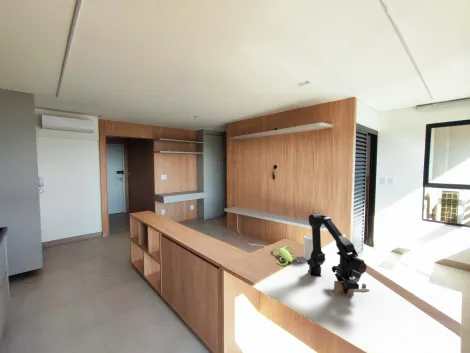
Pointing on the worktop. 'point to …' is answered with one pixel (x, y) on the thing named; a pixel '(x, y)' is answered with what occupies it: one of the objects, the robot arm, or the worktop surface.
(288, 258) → the figurine
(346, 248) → the robot arm
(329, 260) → the worktop surface
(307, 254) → the cup
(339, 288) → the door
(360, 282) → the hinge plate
